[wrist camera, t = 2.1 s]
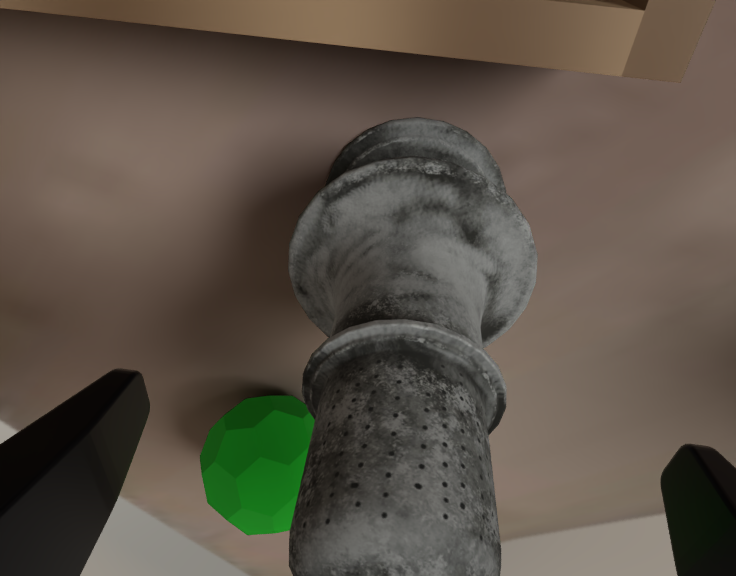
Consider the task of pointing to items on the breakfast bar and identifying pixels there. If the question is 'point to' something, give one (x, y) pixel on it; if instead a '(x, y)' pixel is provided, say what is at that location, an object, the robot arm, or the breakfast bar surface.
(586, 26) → the walled box
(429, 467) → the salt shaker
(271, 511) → the polyhedron
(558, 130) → the breakfast bar surface
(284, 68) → the breakfast bar surface
